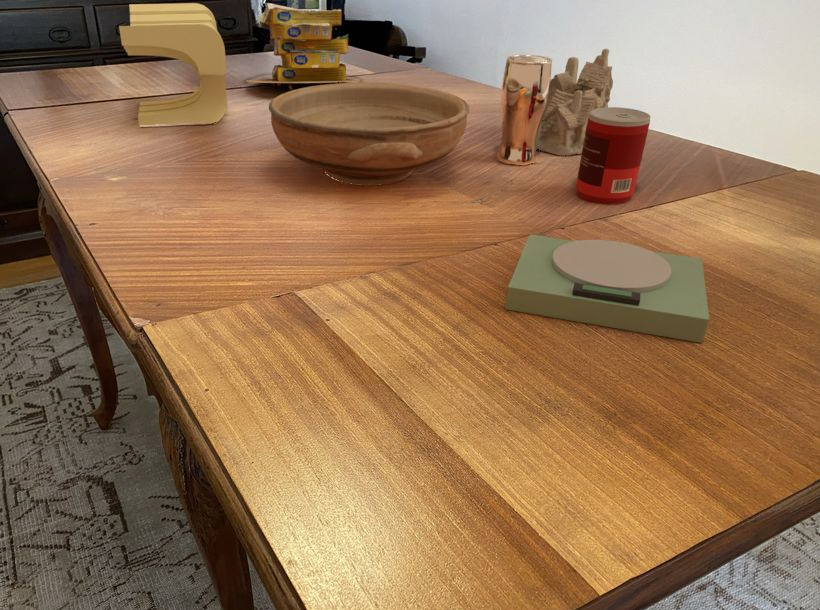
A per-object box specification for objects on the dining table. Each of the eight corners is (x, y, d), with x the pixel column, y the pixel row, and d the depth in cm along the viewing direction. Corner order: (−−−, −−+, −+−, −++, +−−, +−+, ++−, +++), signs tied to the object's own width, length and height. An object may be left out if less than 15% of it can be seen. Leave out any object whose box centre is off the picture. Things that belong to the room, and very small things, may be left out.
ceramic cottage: (554, 122, 130) (566, 35, 122) (627, 146, 119) (646, 53, 110) (491, 140, 123) (499, 49, 115) (563, 168, 112) (578, 70, 104)
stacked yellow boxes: (254, 77, 165) (248, -2, 156) (360, 78, 165) (360, -2, 156) (240, 101, 144) (233, 11, 135) (361, 102, 144) (362, 12, 135)
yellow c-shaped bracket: (232, 136, 122) (222, 23, 112) (137, 141, 119) (118, 26, 110) (222, 97, 147) (213, 2, 137) (143, 101, 144) (129, 4, 134)
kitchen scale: (695, 279, 75) (703, 252, 74) (702, 343, 64) (711, 312, 63) (526, 254, 81) (530, 228, 79) (504, 309, 69) (508, 280, 68)
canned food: (639, 192, 99) (658, 112, 93) (622, 209, 93) (641, 124, 87) (585, 182, 102) (600, 104, 96) (566, 197, 97) (580, 115, 91)
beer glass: (484, 159, 112) (495, 58, 104) (512, 150, 115) (524, 52, 108) (520, 169, 107) (534, 64, 99) (547, 160, 111) (563, 59, 103)
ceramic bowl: (266, 140, 120) (262, 78, 114) (429, 134, 123) (433, 74, 118) (280, 221, 89) (276, 141, 83) (498, 210, 92) (508, 133, 87)
